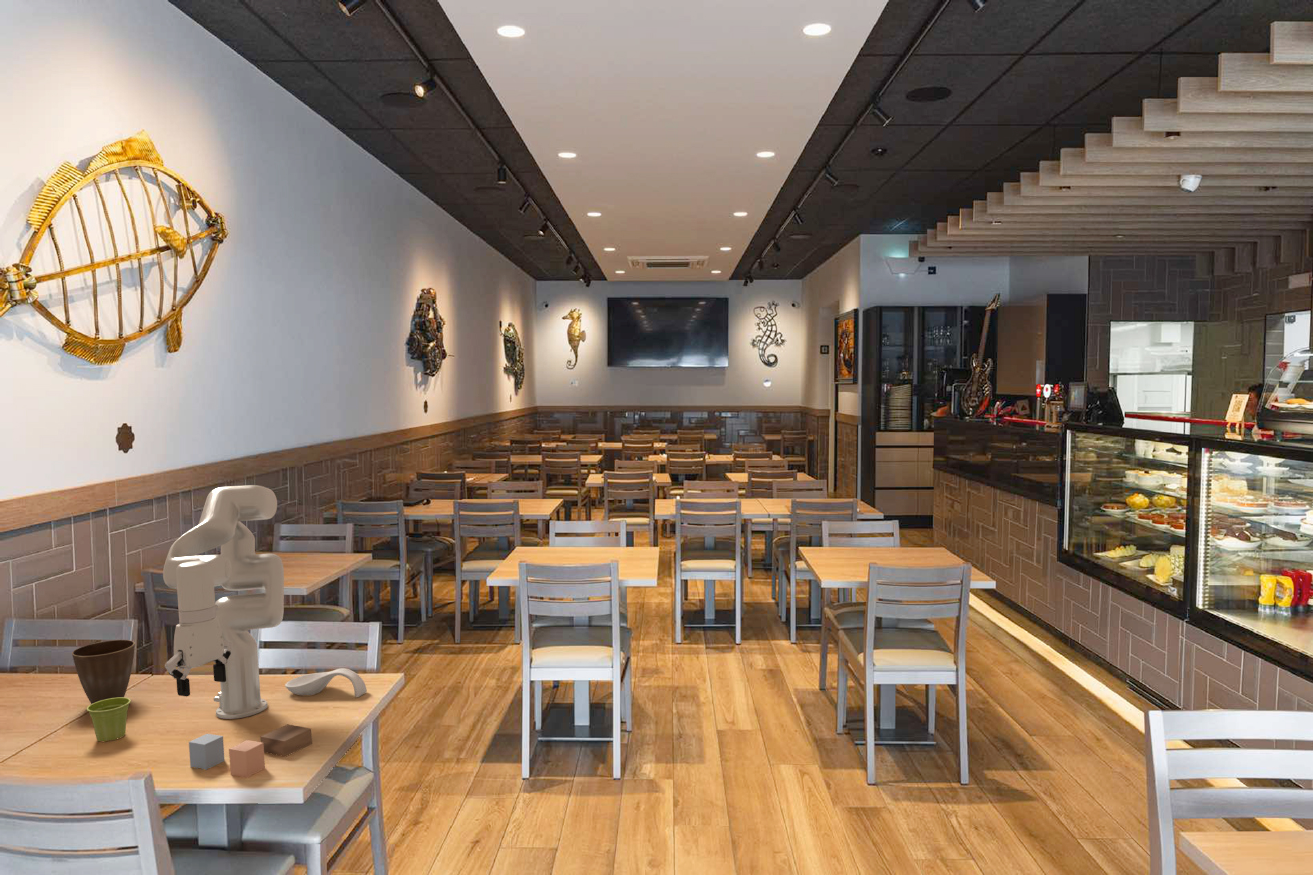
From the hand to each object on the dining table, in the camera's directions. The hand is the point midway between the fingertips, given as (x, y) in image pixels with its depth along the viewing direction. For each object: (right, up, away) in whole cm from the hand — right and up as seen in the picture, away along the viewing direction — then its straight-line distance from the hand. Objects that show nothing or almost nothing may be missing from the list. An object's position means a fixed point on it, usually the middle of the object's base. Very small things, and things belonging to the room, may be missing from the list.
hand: (202, 688), depth 199 cm
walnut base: (+16, -17, +9) cm, 25 cm away
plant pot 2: (-33, -18, +19) cm, 42 cm away
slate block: (+1, -18, +1) cm, 18 cm away
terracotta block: (+12, -18, -3) cm, 22 cm away
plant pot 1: (-50, -17, +44) cm, 69 cm away
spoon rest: (+11, -15, +47) cm, 50 cm away
